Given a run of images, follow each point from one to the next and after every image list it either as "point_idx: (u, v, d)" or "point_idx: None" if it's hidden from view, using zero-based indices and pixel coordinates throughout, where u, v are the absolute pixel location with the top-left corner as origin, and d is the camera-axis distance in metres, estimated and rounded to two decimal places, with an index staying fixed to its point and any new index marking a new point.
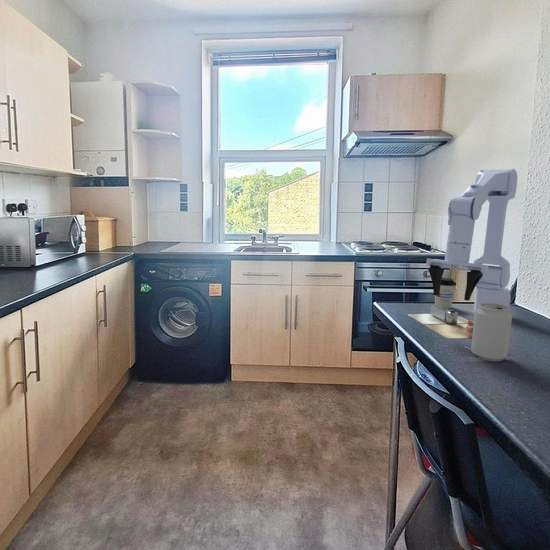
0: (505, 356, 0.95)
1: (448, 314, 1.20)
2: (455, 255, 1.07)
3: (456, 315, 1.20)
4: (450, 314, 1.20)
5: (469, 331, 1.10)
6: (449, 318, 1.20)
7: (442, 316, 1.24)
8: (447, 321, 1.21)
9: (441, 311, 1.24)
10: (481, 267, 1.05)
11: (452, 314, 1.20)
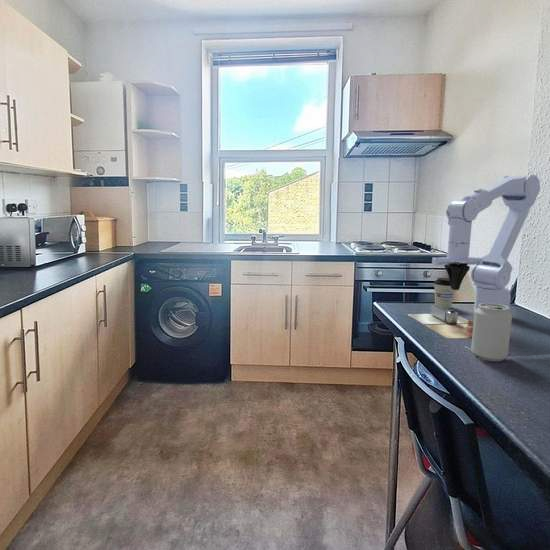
0: (505, 356, 0.95)
1: (448, 314, 1.20)
2: (465, 254, 1.22)
3: (456, 315, 1.20)
4: (450, 314, 1.20)
5: (469, 331, 1.10)
6: (449, 318, 1.20)
7: (442, 316, 1.24)
8: (447, 321, 1.21)
9: (441, 311, 1.24)
10: (479, 261, 1.25)
11: (452, 314, 1.20)
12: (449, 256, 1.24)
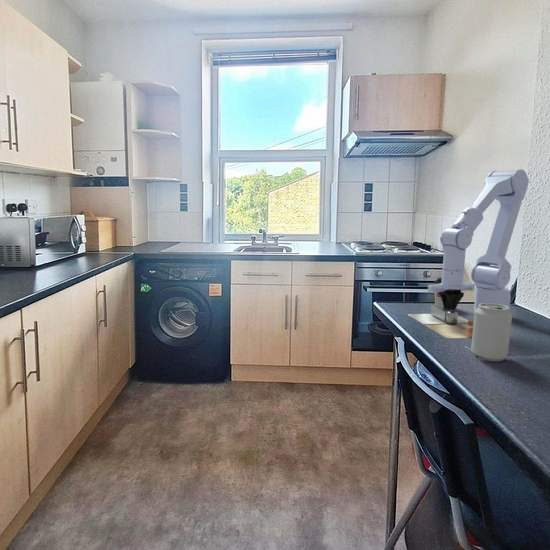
0: (505, 356, 0.95)
1: (448, 314, 1.20)
2: (459, 281, 1.23)
3: (456, 315, 1.20)
4: (450, 314, 1.20)
5: (469, 331, 1.10)
6: (449, 318, 1.20)
7: (442, 316, 1.24)
8: (447, 321, 1.21)
9: (441, 311, 1.24)
10: (472, 286, 1.27)
11: (452, 314, 1.20)
12: (444, 283, 1.25)
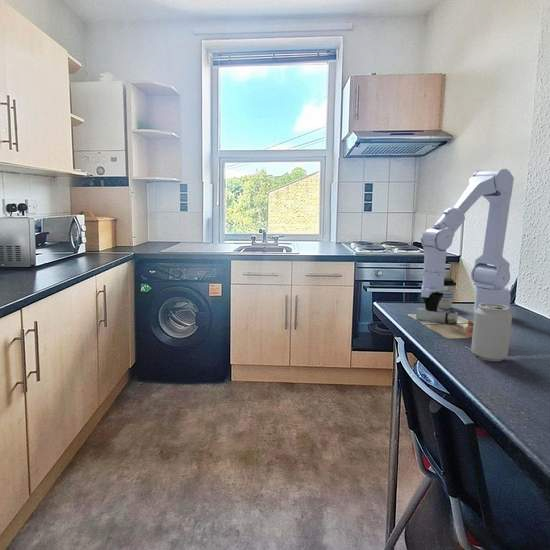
0: (505, 356, 0.95)
1: (453, 315, 1.20)
2: (443, 282, 1.23)
3: None
4: (455, 314, 1.20)
5: (469, 331, 1.10)
6: (454, 319, 1.20)
7: (440, 318, 1.22)
8: (452, 322, 1.20)
9: (437, 313, 1.22)
10: None
11: (456, 314, 1.20)
12: (431, 286, 1.22)
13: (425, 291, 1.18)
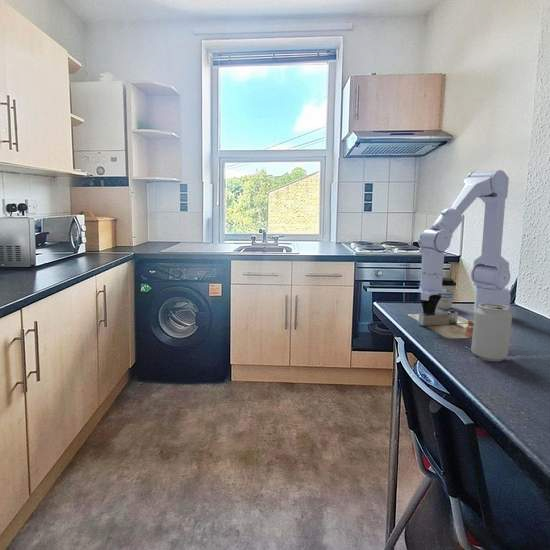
0: (505, 356, 0.95)
1: (456, 315, 1.20)
2: (441, 284, 1.20)
3: None
4: (457, 314, 1.20)
5: (469, 331, 1.10)
6: (457, 318, 1.20)
7: (445, 320, 1.20)
8: (455, 322, 1.20)
9: (443, 316, 1.19)
10: None
11: None
12: (429, 288, 1.18)
13: (425, 294, 1.15)
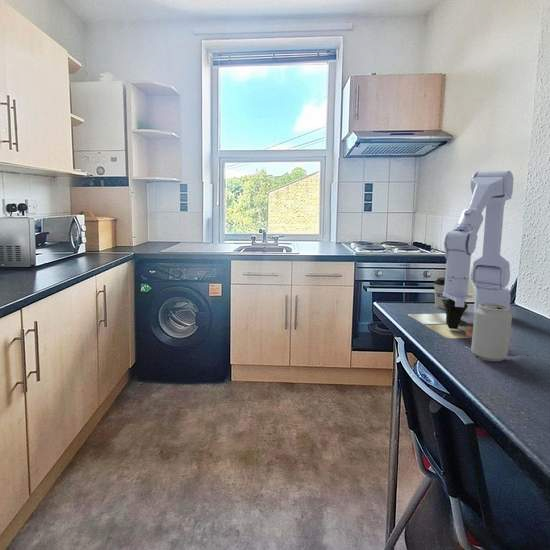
0: (505, 356, 0.95)
1: None
2: None
3: None
4: None
5: (469, 331, 1.10)
6: None
7: None
8: None
9: None
10: None
11: None
12: (458, 293, 1.11)
13: (461, 300, 1.07)
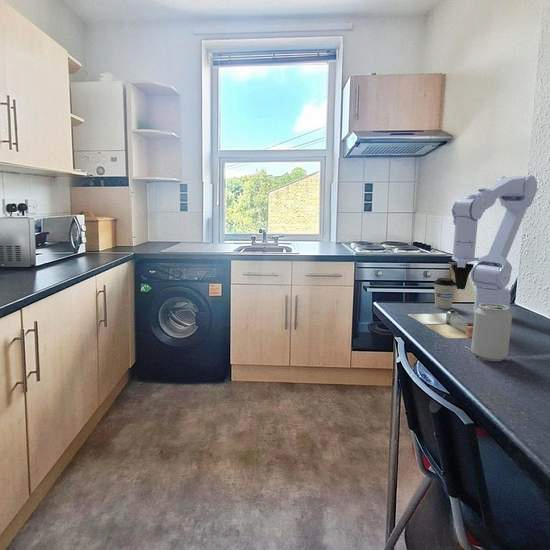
0: (505, 356, 0.95)
1: None
2: None
3: None
4: None
5: (469, 331, 1.10)
6: None
7: None
8: None
9: None
10: None
11: None
12: (464, 256, 1.21)
13: (462, 261, 1.17)
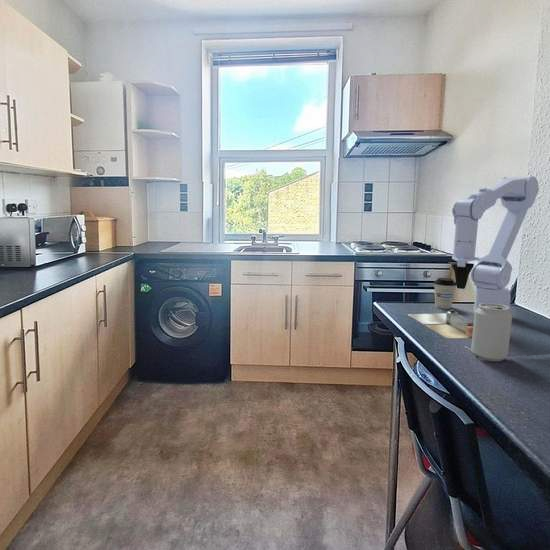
0: (505, 356, 0.95)
1: None
2: None
3: None
4: None
5: (469, 331, 1.10)
6: None
7: None
8: None
9: None
10: None
11: None
12: (464, 256, 1.21)
13: (462, 260, 1.18)
